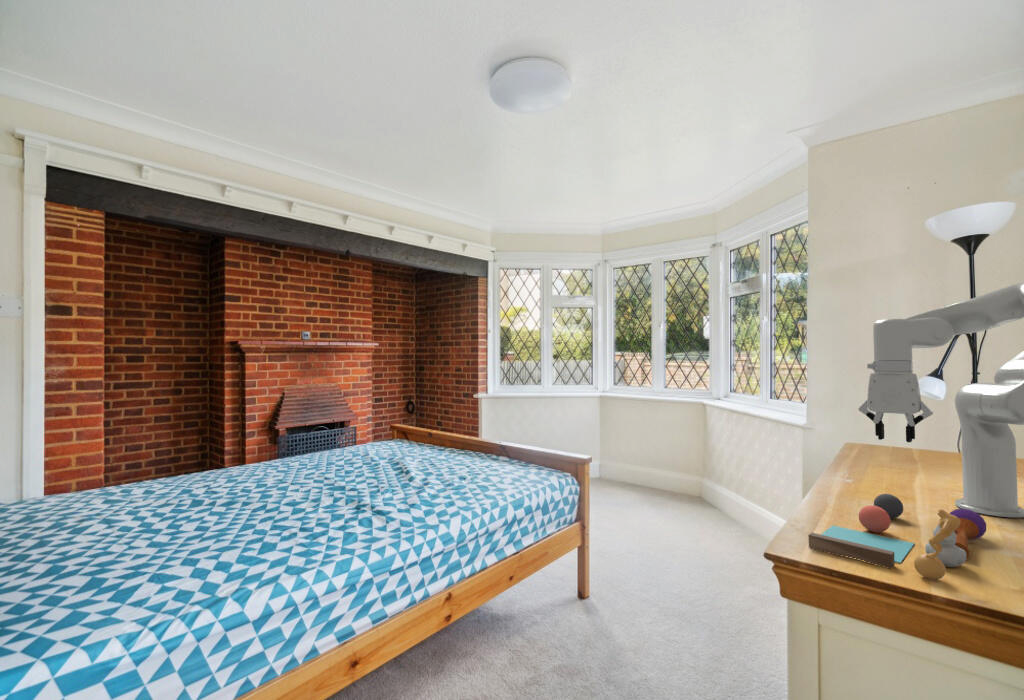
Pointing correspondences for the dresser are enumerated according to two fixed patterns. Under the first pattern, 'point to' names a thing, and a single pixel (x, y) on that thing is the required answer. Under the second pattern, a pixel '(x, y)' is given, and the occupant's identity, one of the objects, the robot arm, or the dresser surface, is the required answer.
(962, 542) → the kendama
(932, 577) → the figurine
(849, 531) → the teal mark
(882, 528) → the red ball
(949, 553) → the gray statuette
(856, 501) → the dresser surface
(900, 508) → the dark gray ball
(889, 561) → the walnut rail
